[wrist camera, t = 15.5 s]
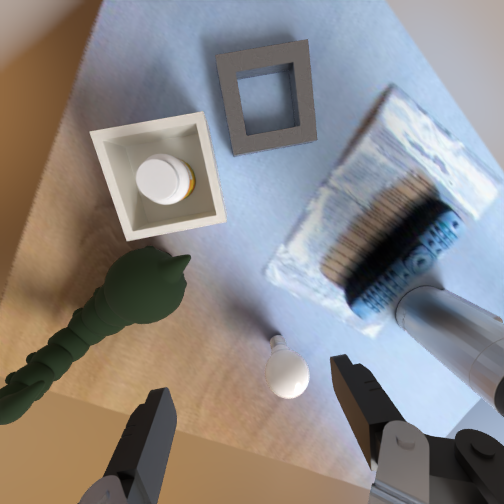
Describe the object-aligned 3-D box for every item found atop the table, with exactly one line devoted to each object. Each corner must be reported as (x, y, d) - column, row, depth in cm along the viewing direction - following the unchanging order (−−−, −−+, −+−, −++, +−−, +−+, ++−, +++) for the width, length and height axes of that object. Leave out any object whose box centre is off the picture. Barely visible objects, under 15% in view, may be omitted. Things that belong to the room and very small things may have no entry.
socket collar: (302, 49, 32) (307, 39, 29) (311, 142, 35) (317, 139, 33) (216, 64, 31) (215, 55, 29) (233, 156, 35) (234, 155, 32)
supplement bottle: (169, 206, 35) (148, 217, 25) (147, 170, 33) (115, 167, 24) (203, 188, 34) (194, 192, 25) (183, 150, 33) (165, 140, 24)
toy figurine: (108, 341, 43) (222, 259, 38) (9, 470, 25) (200, 345, 20) (64, 303, 40) (180, 210, 35) (-83, 416, 22) (112, 258, 18)
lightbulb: (262, 358, 44) (272, 414, 34) (255, 327, 43) (264, 376, 32) (297, 350, 45) (317, 403, 34) (292, 320, 43) (312, 366, 32)
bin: (208, 124, 33) (203, 111, 26) (227, 213, 37) (226, 222, 30) (117, 140, 33) (89, 131, 26) (145, 229, 36) (126, 241, 30)
